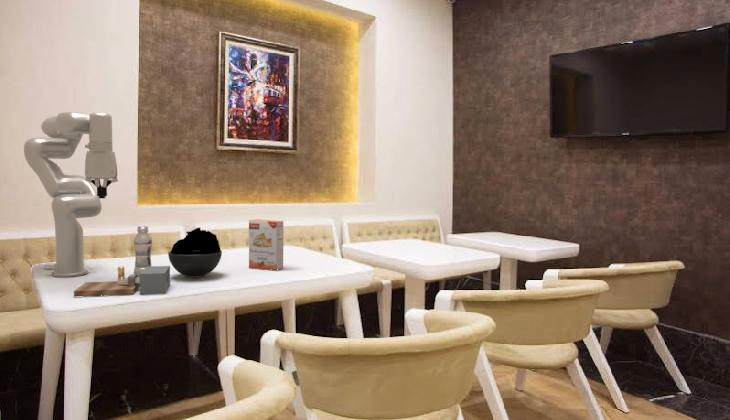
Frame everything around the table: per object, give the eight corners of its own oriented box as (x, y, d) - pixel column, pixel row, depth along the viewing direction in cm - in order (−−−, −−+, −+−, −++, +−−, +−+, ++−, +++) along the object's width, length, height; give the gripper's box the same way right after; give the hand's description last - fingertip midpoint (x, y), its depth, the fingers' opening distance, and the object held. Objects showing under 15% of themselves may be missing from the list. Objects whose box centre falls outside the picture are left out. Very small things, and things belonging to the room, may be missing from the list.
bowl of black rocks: (202, 283, 196) (202, 233, 195) (157, 279, 202) (156, 230, 200) (231, 273, 215) (231, 227, 214) (189, 270, 221) (188, 225, 219)
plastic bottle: (137, 277, 206) (136, 225, 204) (155, 277, 206) (154, 226, 205) (131, 280, 199) (130, 227, 198) (149, 280, 200) (149, 227, 198)
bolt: (117, 283, 181) (117, 267, 180) (119, 282, 183) (118, 266, 183) (155, 282, 184) (154, 266, 183) (156, 281, 186) (155, 265, 186)
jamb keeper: (139, 294, 177) (139, 273, 177) (146, 285, 191) (146, 266, 190) (165, 293, 179) (165, 273, 179) (170, 284, 193) (169, 265, 192)
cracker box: (248, 268, 228) (248, 219, 226) (256, 266, 233) (256, 218, 232) (276, 271, 222) (276, 221, 221) (283, 268, 228) (283, 220, 226)
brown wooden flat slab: (73, 297, 173) (73, 281, 172) (85, 287, 186) (85, 273, 186) (133, 294, 177) (133, 279, 177) (140, 286, 190) (140, 271, 190)
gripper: (75, 146, 187) (76, 198, 188) (121, 147, 190) (122, 198, 192) (81, 147, 194) (82, 197, 195) (125, 148, 198) (126, 197, 199)
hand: (102, 198), depth 194 cm, fingers closed
